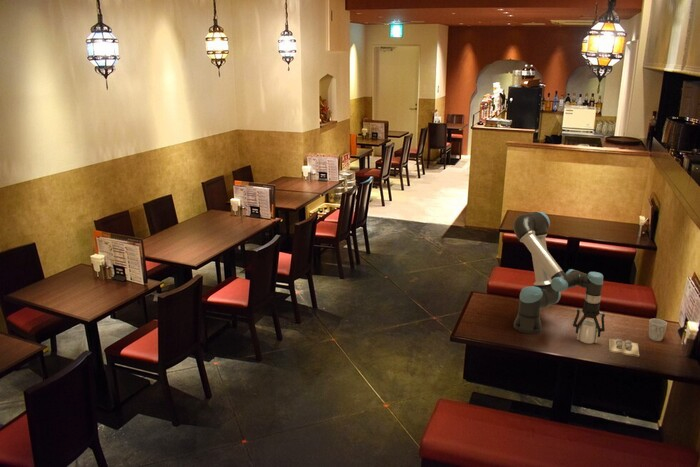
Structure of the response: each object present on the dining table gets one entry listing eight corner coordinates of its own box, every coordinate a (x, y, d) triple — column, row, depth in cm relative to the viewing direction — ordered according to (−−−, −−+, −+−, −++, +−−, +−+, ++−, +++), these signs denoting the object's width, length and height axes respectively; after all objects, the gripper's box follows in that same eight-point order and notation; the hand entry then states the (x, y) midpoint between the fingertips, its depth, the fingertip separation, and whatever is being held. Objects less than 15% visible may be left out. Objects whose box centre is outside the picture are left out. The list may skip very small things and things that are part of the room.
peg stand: (609, 351, 290) (609, 345, 289) (608, 340, 302) (609, 334, 301) (639, 357, 285) (640, 350, 284) (637, 345, 297) (638, 339, 296)
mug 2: (651, 331, 312) (654, 315, 309) (668, 336, 306) (671, 320, 304) (644, 338, 305) (647, 321, 302) (661, 343, 299) (664, 326, 296)
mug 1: (593, 348, 293) (595, 330, 290) (576, 344, 297) (578, 326, 294) (595, 339, 303) (598, 321, 300) (579, 335, 307) (581, 318, 304)
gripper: (570, 300, 294) (565, 339, 301) (614, 307, 286) (608, 347, 293) (571, 295, 301) (566, 333, 307) (614, 301, 293) (608, 341, 299)
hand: (586, 340), depth 300 cm, fingers closed on mug 1, 8 cm apart
